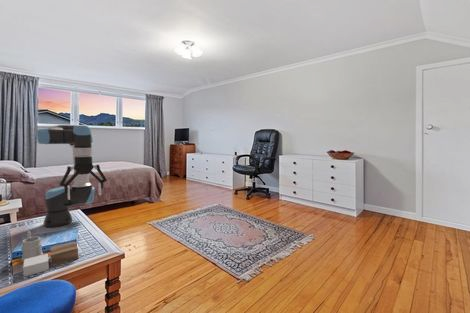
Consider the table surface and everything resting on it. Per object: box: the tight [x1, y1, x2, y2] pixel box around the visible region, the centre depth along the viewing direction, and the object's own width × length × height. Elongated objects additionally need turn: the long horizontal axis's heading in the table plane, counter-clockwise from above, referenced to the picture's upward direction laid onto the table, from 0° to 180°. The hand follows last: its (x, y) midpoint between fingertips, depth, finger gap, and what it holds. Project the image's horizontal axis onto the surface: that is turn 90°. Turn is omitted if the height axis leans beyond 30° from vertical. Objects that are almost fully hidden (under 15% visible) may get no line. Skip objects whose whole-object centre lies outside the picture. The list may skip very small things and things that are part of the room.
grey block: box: [22, 253, 50, 277], centre depth 101 cm, size 8×8×4 cm
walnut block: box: [49, 240, 79, 267], centre depth 111 cm, size 10×10×5 cm
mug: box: [21, 230, 44, 264], centre depth 110 cm, size 8×12×12 cm, turn 50°
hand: (85, 197), depth 120 cm, fingers open, 13 cm apart
